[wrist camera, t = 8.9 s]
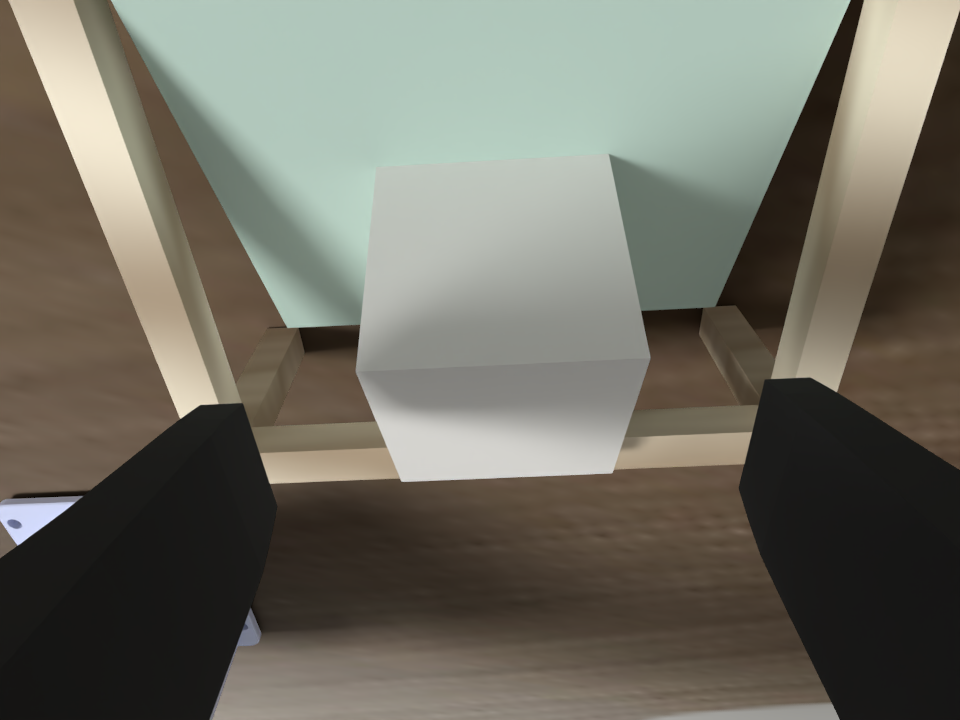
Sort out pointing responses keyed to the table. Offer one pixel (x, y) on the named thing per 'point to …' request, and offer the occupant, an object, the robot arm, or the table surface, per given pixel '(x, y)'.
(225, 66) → the trapdoor
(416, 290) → the white cube
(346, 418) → the table surface
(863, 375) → the table surface
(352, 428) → the trapdoor frame
